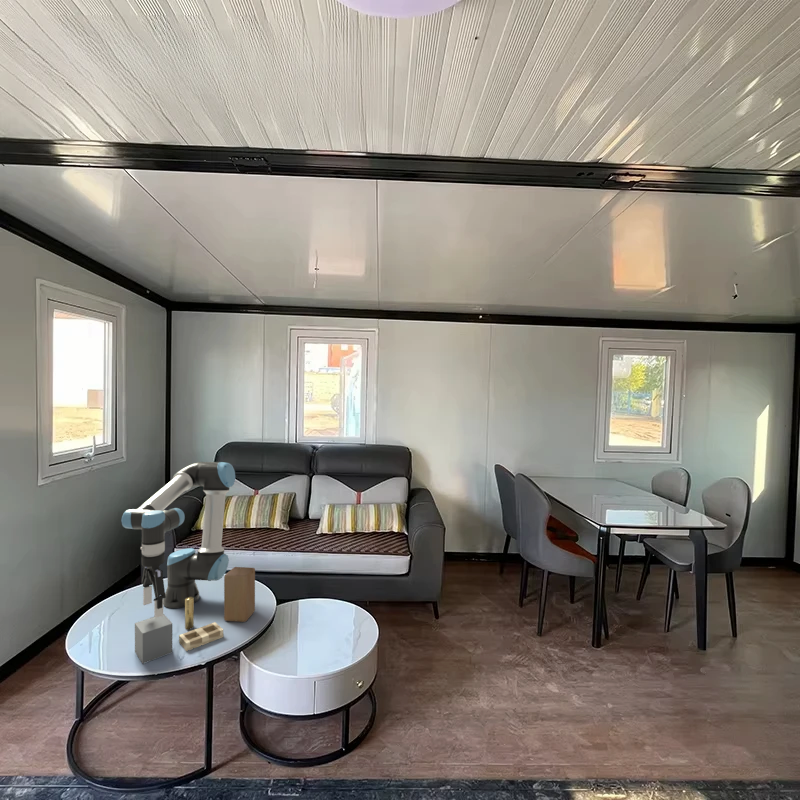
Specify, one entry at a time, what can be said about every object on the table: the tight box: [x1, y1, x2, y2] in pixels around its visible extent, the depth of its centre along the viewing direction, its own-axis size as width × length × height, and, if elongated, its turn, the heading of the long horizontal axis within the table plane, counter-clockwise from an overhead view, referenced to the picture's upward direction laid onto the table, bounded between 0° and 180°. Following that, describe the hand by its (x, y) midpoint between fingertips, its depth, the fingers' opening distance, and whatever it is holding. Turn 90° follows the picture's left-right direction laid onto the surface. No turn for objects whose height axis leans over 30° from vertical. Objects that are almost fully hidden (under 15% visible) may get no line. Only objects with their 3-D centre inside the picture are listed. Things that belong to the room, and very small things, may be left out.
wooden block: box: [223, 566, 256, 623], centre depth 192 cm, size 10×10×20 cm
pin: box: [184, 597, 195, 630], centre depth 183 cm, size 3×3×12 cm
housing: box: [134, 613, 173, 665], centre depth 166 cm, size 10×10×11 cm
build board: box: [178, 621, 224, 652], centre depth 174 cm, size 8×14×3 cm, turn 135°
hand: (153, 610), depth 165 cm, fingers open, 13 cm apart
